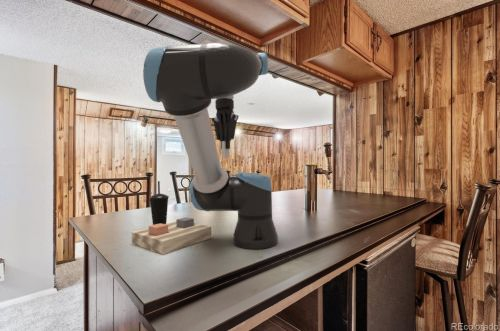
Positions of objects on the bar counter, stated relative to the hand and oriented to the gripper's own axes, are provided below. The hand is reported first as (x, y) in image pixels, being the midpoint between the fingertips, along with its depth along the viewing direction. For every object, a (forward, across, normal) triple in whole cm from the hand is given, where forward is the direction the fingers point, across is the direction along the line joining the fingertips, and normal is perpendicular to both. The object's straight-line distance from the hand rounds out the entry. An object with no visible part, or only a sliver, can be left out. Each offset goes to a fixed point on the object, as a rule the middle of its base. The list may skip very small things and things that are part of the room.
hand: (225, 157), depth 102 cm
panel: (+29, +5, +23) cm, 38 cm away
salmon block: (+28, +5, +28) cm, 40 cm away
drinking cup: (+30, +22, +17) cm, 41 cm away
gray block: (+28, +5, +17) cm, 33 cm away
